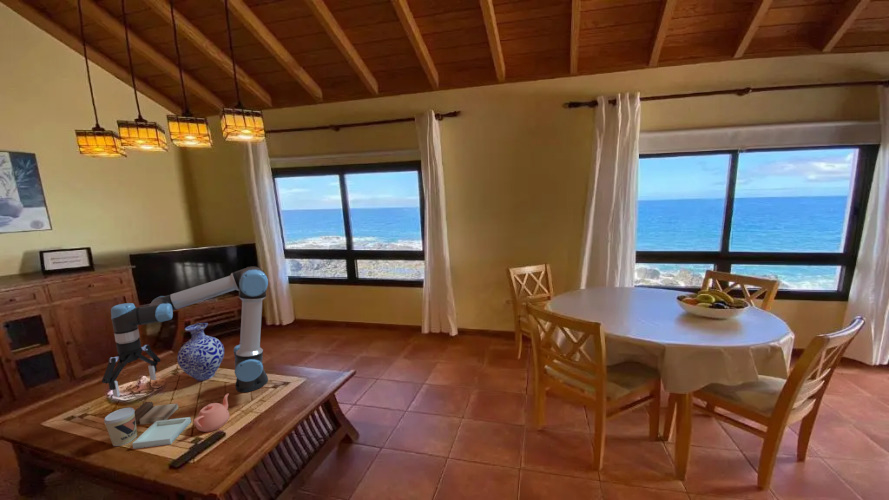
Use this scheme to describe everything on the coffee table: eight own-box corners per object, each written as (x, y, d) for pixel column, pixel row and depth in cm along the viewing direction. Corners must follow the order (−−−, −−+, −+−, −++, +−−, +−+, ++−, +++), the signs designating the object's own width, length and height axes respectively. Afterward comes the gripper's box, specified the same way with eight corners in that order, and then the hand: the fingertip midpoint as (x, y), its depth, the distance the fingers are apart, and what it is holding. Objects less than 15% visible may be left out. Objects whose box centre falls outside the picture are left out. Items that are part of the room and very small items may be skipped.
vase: (196, 369, 204) (187, 321, 199) (234, 365, 207) (227, 317, 202) (172, 389, 183) (162, 336, 178) (215, 384, 186) (206, 332, 181)
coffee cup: (121, 448, 140) (115, 422, 138) (103, 446, 142) (97, 420, 140) (145, 433, 149) (140, 407, 147) (128, 431, 151) (122, 406, 149)
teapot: (185, 435, 146) (181, 415, 145) (221, 409, 163) (218, 390, 162) (208, 438, 143) (204, 418, 142) (242, 411, 161) (239, 393, 159)
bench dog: (154, 410, 165) (152, 401, 164) (138, 424, 155) (136, 414, 154) (147, 411, 164) (145, 402, 164) (131, 425, 155) (129, 415, 154)
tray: (191, 422, 155) (190, 417, 154) (170, 444, 141) (169, 438, 141) (157, 426, 153) (156, 421, 153) (133, 448, 139) (132, 443, 139)
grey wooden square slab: (178, 409, 166) (177, 403, 165) (164, 422, 156) (163, 416, 156) (155, 411, 165) (154, 406, 164) (140, 425, 155) (139, 419, 154)
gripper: (154, 328, 158) (161, 372, 161) (84, 351, 134) (93, 402, 138) (166, 330, 155) (172, 374, 159) (96, 354, 132) (105, 405, 135)
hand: (135, 387), depth 148 cm, fingers open, 13 cm apart
